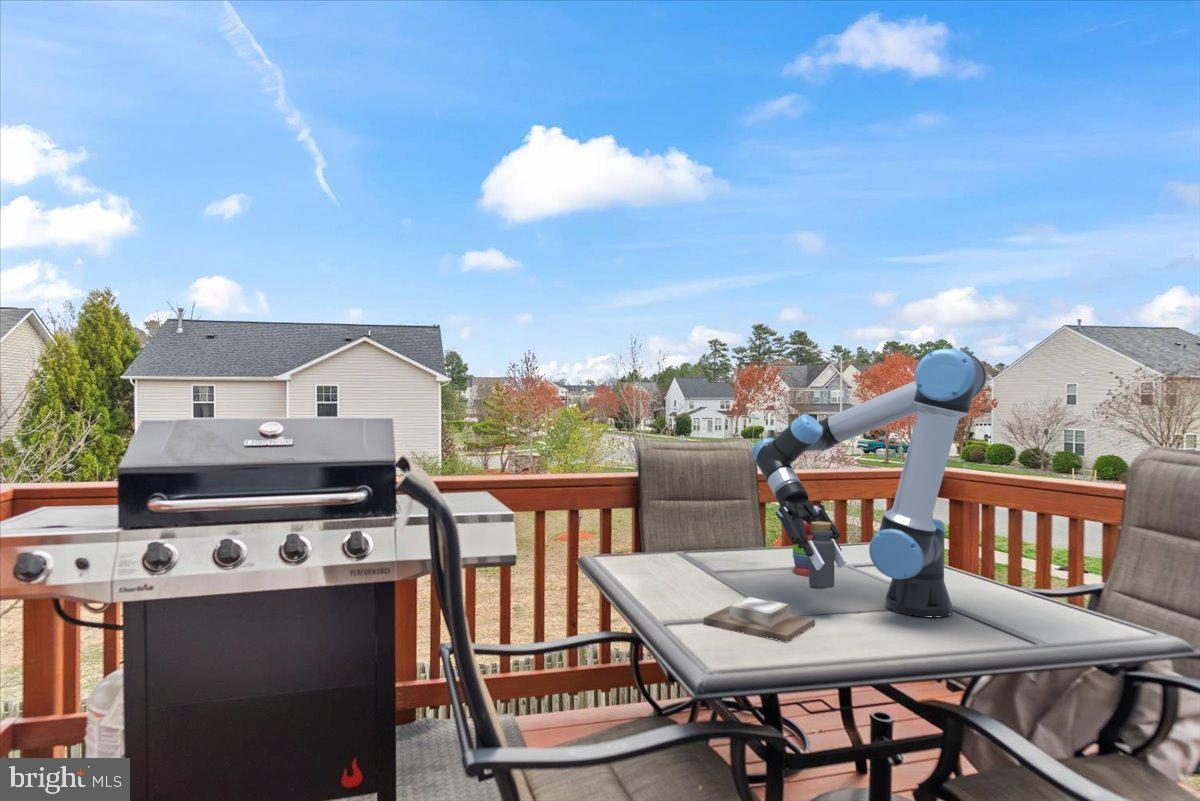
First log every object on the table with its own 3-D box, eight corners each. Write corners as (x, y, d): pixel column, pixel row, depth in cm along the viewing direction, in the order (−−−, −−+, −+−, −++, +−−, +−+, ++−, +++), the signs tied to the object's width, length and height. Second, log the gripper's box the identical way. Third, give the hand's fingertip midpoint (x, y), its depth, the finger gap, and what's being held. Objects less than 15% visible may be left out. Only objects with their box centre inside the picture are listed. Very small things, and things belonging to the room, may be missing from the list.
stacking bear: (832, 577, 208) (832, 517, 208) (798, 577, 208) (798, 517, 208) (820, 569, 219) (820, 512, 219) (788, 569, 219) (788, 512, 219)
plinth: (814, 625, 160) (815, 605, 160) (786, 642, 148) (787, 620, 148) (735, 609, 172) (735, 590, 173) (703, 624, 160) (703, 603, 160)
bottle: (821, 589, 164) (821, 525, 164) (803, 584, 169) (803, 521, 169) (839, 586, 166) (839, 523, 167) (821, 581, 171) (821, 520, 172)
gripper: (811, 497, 186) (855, 571, 170) (751, 500, 179) (791, 578, 163) (824, 479, 181) (871, 553, 165) (763, 481, 174) (806, 559, 158)
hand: (831, 565), depth 164 cm, fingers closed on bottle, 6 cm apart
